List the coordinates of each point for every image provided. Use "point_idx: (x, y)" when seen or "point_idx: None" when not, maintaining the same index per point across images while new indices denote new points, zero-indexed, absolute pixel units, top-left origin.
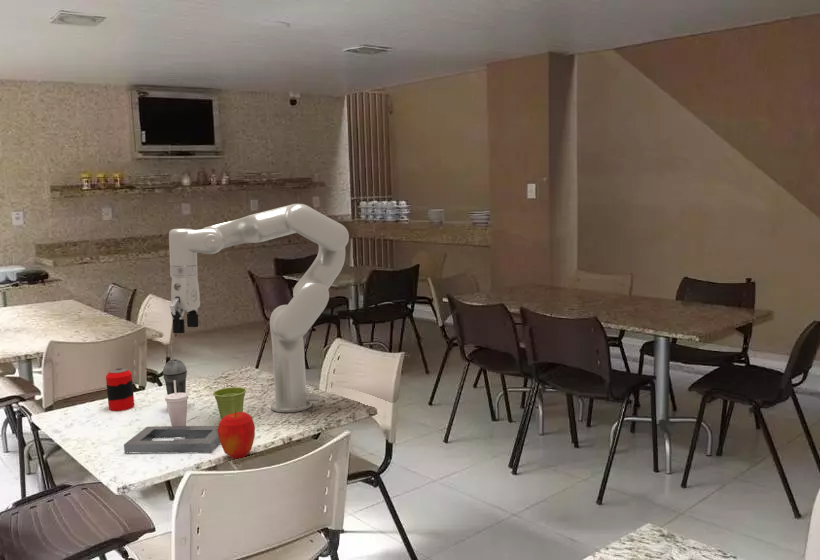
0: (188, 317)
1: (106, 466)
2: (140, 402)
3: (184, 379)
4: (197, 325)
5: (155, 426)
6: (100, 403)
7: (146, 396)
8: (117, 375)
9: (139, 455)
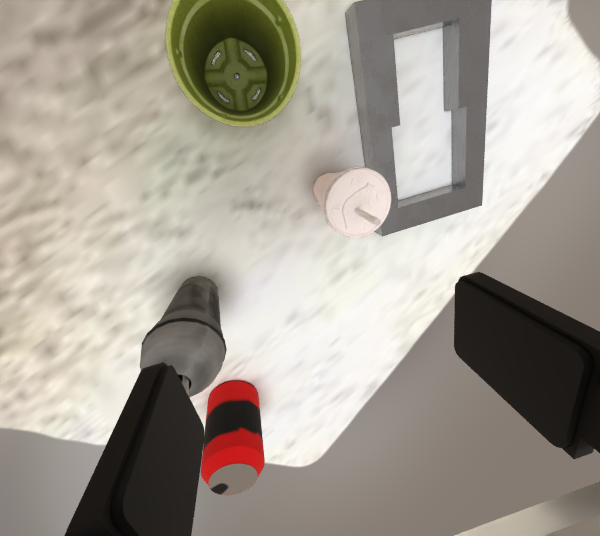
0: (184, 524)
1: (523, 187)
2: None
3: (179, 311)
4: (158, 370)
5: None
6: None
7: None
8: (255, 458)
9: None
